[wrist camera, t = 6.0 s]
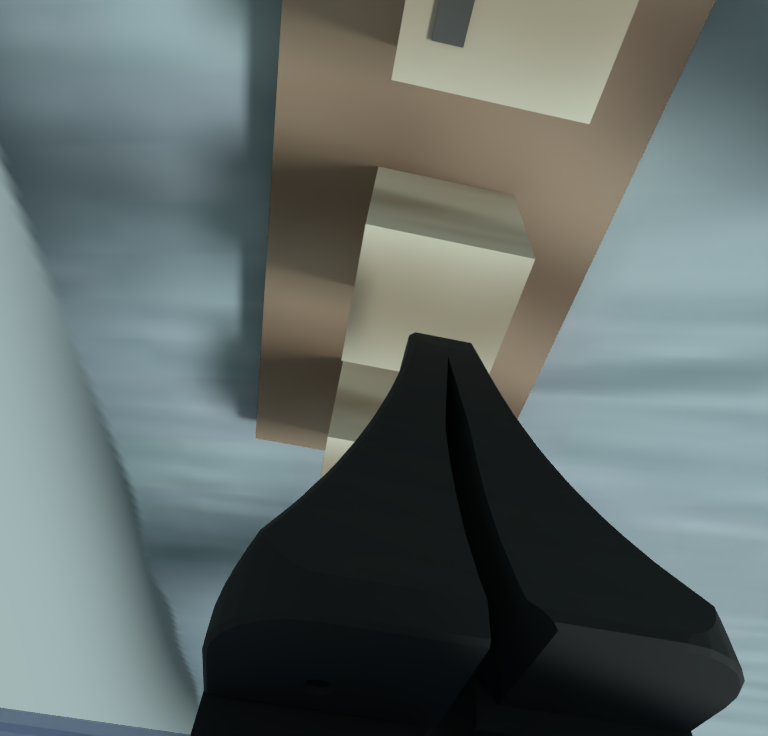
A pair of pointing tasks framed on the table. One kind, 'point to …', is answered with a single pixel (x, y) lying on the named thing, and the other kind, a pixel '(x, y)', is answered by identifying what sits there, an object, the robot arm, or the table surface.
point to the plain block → (435, 268)
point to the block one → (355, 407)
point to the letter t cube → (514, 51)
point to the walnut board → (440, 161)
